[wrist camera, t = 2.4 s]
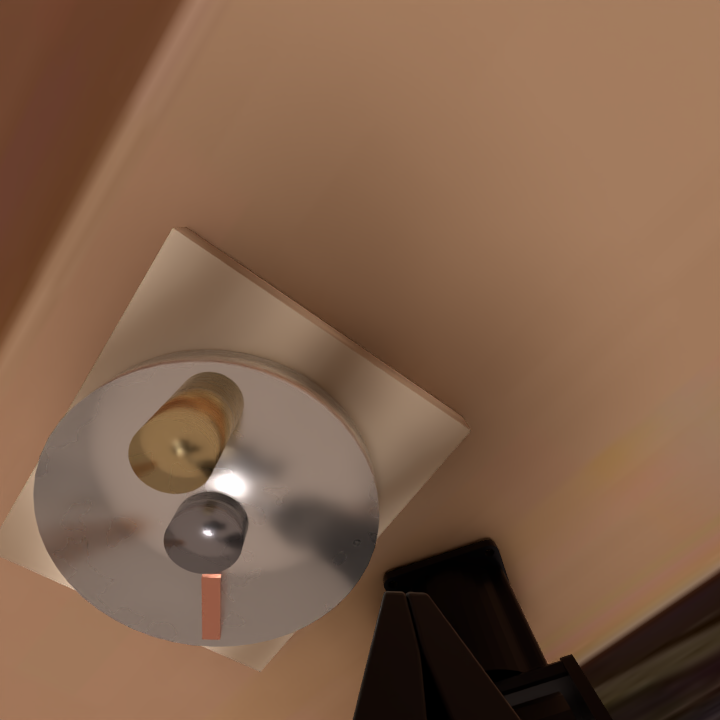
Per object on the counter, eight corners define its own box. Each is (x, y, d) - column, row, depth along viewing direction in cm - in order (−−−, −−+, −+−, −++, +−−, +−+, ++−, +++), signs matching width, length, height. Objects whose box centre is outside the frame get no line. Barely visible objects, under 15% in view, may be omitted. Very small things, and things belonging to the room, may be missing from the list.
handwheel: (359, 617, 22) (366, 750, 16) (78, 607, 21) (-16, 746, 15) (394, 364, 18) (419, 428, 12) (42, 334, 17) (-105, 390, 11)
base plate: (461, 416, 21) (471, 430, 19) (264, 646, 25) (260, 672, 23) (186, 227, 17) (173, 228, 16) (10, 529, 21) (-13, 551, 20)
